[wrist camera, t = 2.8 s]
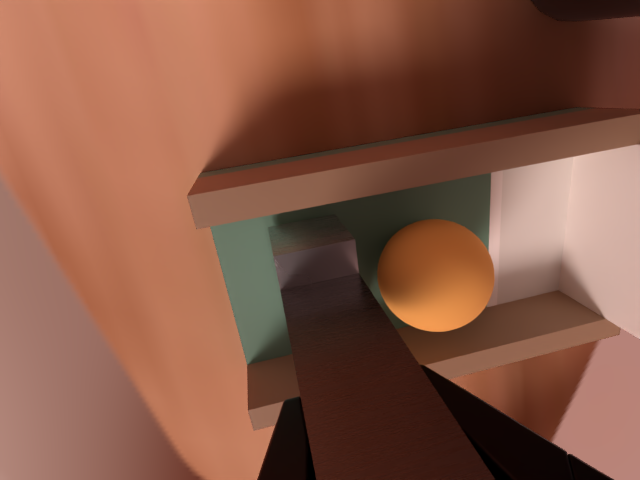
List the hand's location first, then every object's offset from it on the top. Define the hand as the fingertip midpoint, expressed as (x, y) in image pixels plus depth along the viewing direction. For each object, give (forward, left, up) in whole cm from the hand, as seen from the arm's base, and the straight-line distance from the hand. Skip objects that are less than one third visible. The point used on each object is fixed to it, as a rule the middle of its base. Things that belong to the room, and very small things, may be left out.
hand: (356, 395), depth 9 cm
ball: (0, -4, -4) cm, 6 cm away
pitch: (0, -4, -8) cm, 9 cm away
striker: (0, 0, -6) cm, 6 cm away
